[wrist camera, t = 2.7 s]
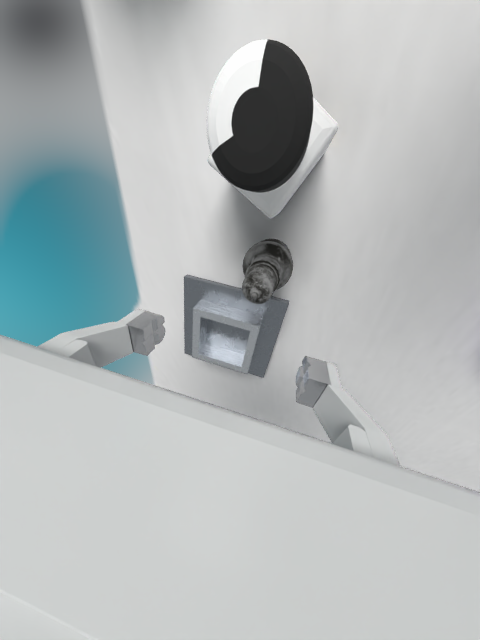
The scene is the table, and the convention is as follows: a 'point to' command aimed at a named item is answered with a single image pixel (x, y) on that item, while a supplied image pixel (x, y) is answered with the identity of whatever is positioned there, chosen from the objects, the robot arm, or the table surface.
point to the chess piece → (266, 270)
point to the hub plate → (230, 326)
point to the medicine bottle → (266, 124)
